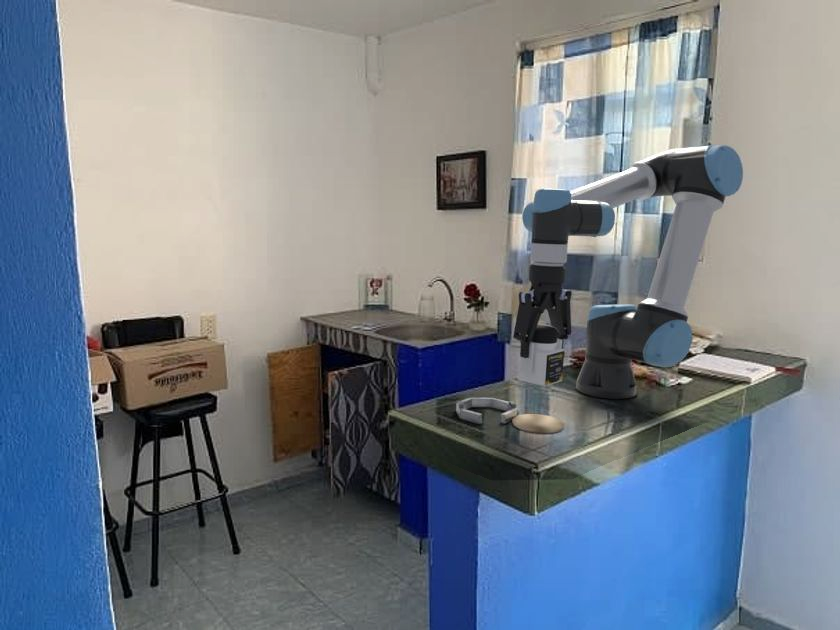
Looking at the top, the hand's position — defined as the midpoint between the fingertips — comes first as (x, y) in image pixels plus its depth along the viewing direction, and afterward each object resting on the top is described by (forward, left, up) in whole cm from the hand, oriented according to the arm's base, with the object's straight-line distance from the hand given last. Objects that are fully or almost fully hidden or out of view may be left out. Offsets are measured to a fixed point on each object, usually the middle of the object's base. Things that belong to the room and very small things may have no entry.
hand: (540, 369), depth 134 cm
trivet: (0, 0, -12) cm, 12 cm away
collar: (+10, -7, -12) cm, 17 cm away
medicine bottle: (0, 0, -3) cm, 3 cm away
